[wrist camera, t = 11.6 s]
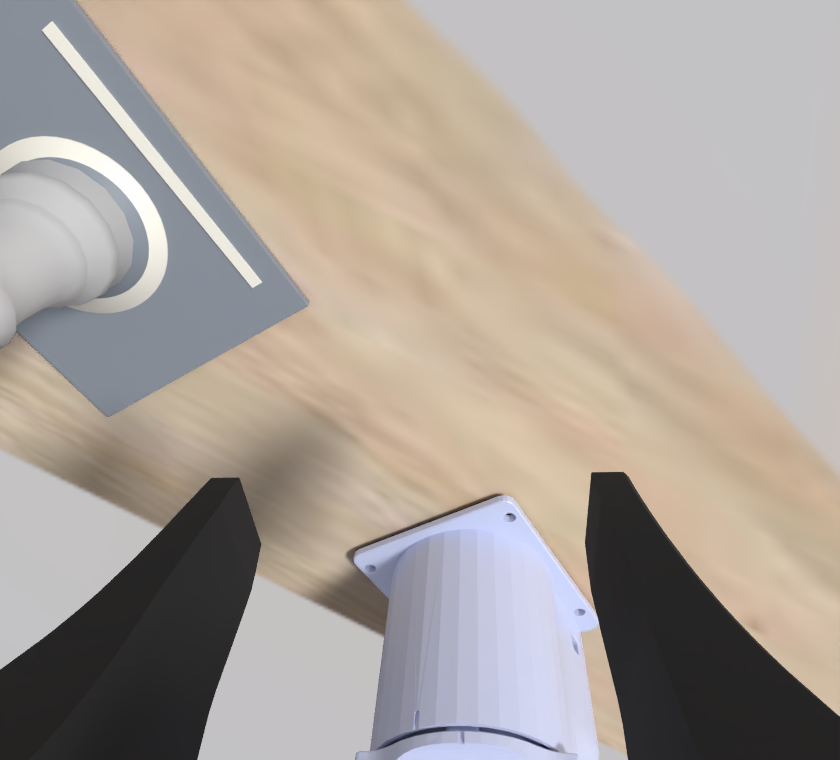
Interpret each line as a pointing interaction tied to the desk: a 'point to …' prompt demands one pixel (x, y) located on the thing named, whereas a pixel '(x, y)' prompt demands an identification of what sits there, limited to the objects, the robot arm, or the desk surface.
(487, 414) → the desk surface
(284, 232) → the desk surface
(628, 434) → the desk surface
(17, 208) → the rook chess piece
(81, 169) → the grey base plate
